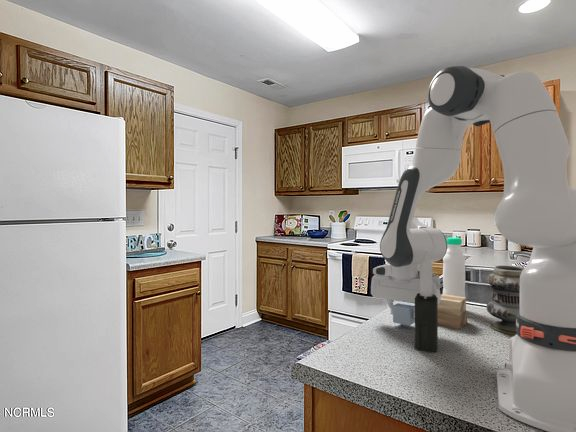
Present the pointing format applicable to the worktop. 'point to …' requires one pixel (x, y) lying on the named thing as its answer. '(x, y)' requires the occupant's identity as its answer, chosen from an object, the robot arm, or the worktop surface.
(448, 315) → the bottom block
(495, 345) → the worktop surface
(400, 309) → the blue cube
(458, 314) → the top block
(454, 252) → the water bottle
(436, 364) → the worktop surface
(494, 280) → the apothecary jar
